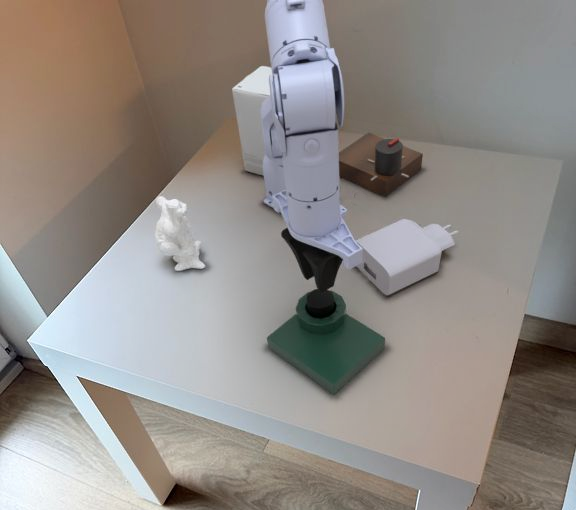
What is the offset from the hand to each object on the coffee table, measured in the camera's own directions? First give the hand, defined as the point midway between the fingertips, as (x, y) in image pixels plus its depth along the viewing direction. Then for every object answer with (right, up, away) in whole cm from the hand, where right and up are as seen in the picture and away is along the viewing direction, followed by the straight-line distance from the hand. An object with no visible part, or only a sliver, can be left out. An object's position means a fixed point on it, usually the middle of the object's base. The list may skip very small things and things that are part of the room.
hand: (319, 281), depth 68 cm
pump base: (+1, -8, +4) cm, 9 cm away
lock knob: (+13, +23, +23) cm, 35 cm away
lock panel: (+12, +24, +27) cm, 38 cm away
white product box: (-6, +28, +32) cm, 43 cm away
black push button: (0, -3, +4) cm, 5 cm away
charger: (+15, +5, +13) cm, 20 cm away
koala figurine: (-20, +6, +18) cm, 28 cm away
